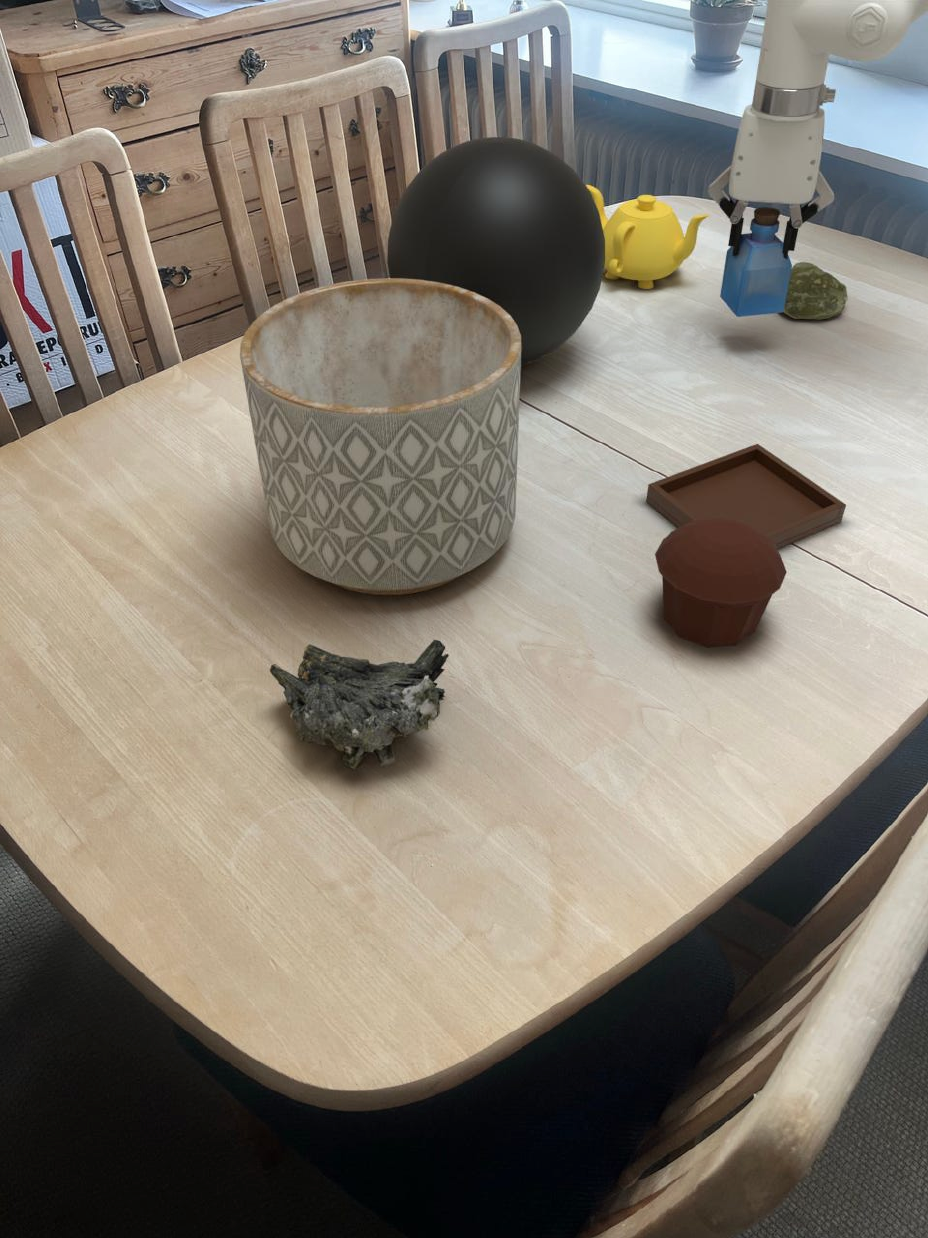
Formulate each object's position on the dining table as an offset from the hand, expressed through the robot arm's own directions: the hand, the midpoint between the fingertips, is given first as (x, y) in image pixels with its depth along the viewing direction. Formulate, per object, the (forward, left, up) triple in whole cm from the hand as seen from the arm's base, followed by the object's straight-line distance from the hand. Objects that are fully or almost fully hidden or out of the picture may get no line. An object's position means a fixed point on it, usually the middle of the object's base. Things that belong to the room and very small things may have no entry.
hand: (760, 252), depth 128 cm
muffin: (+39, +40, -13) cm, 57 cm away
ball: (+30, -14, -13) cm, 36 cm away
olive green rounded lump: (-16, -4, -13) cm, 21 cm away
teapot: (-1, -24, -13) cm, 28 cm away
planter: (+59, +13, -13) cm, 62 cm away
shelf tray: (+25, +29, -13) cm, 40 cm away
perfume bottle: (0, 0, -7) cm, 7 cm away
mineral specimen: (+73, +35, -13) cm, 82 cm away
